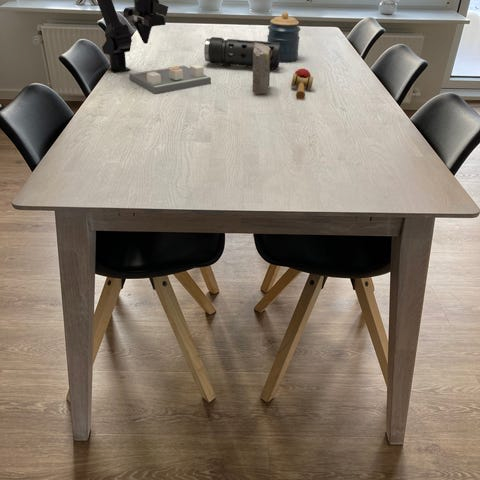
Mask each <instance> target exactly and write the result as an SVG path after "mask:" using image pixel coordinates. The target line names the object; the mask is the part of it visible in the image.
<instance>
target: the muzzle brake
mask: <svg viewBox="0 0 480 480" xmlns="http://www.w3.org/2000/svg"><path fill="white" fill-rule="evenodd" d="M255 42H257V43H259V44H264V45H265V46H268V47H269V48H271V51H272V55H271V57H270V70H274V71H275V70H278V68H279V65H280V62H279V60H280V46H281V44H280V42H267V41H262V40H246V39H234V38H233V39H232V38H227V39H224V38H222V37H216V36H213V37H210V38H206V39H205V41H204V47H203V48H204V49H203V50H204V51H203V55H204V57H203V58H204V60H205V62H208V63H210V64H211V65H213V64H214V65H215V64H216V65H221V67H227V68H230V67H232V66H243V67H245V68H247V69H248V68H253V51H254V43H255Z"/></svg>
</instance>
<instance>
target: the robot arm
mask: <svg viewBox="0 0 480 480" xmlns="http://www.w3.org/2000/svg"><path fill="white" fill-rule="evenodd" d="M96 3H97V5H98V8H99V10H100V13H101V16H102V18H103V20H104V23H105V32H104V36H105V40H106V41H105V42H104V44H102V47H101V49H102V53H103V54H105V55H108V57H109V66H106V69H107V70H109V71H110V72H112V73H115V74H116V73H121V72H122V73H123V72H128V71H130V70H131V68H129V67H127V61H126V53H128V52H130V51H131V46H132V42H133V39H132V34H131V31H130V28H129V25H128V24H123V23H122V22H121V20H120V19H119V16H118V13H117V10H116V8H115V5H114V2H113V0H96ZM133 4H134V5H133V6H131V7H130V6H129V7H125V8H124V9H123V10H122V12H123V17H124V18H126V19H129V18H130V17H132V16H133V20H131V22H132V23H133V26H134V27H135V29H136V31H137V32H138V36H139V37H140V38H141V41H142V43H143V44H145V45H146V44H148V42H149V39H150V35H151V31H152V29H153V27H160V26H165V25H166V17H167V14H168V11H169V6H168V5H164V4H162V3H160V1H159V0H133Z"/></svg>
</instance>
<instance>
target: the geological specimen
mask: <svg viewBox="0 0 480 480" xmlns="http://www.w3.org/2000/svg"><path fill="white" fill-rule="evenodd" d="M271 55H272V51H271V48H269V47H268V46H265V45H264V44H259V43H257V42H255V43H254V51H253V67H252V92H253V93H255V94H265V93H268V90H269V87H270V74H271V73H270V72H271V69H270V57H271Z"/></svg>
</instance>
